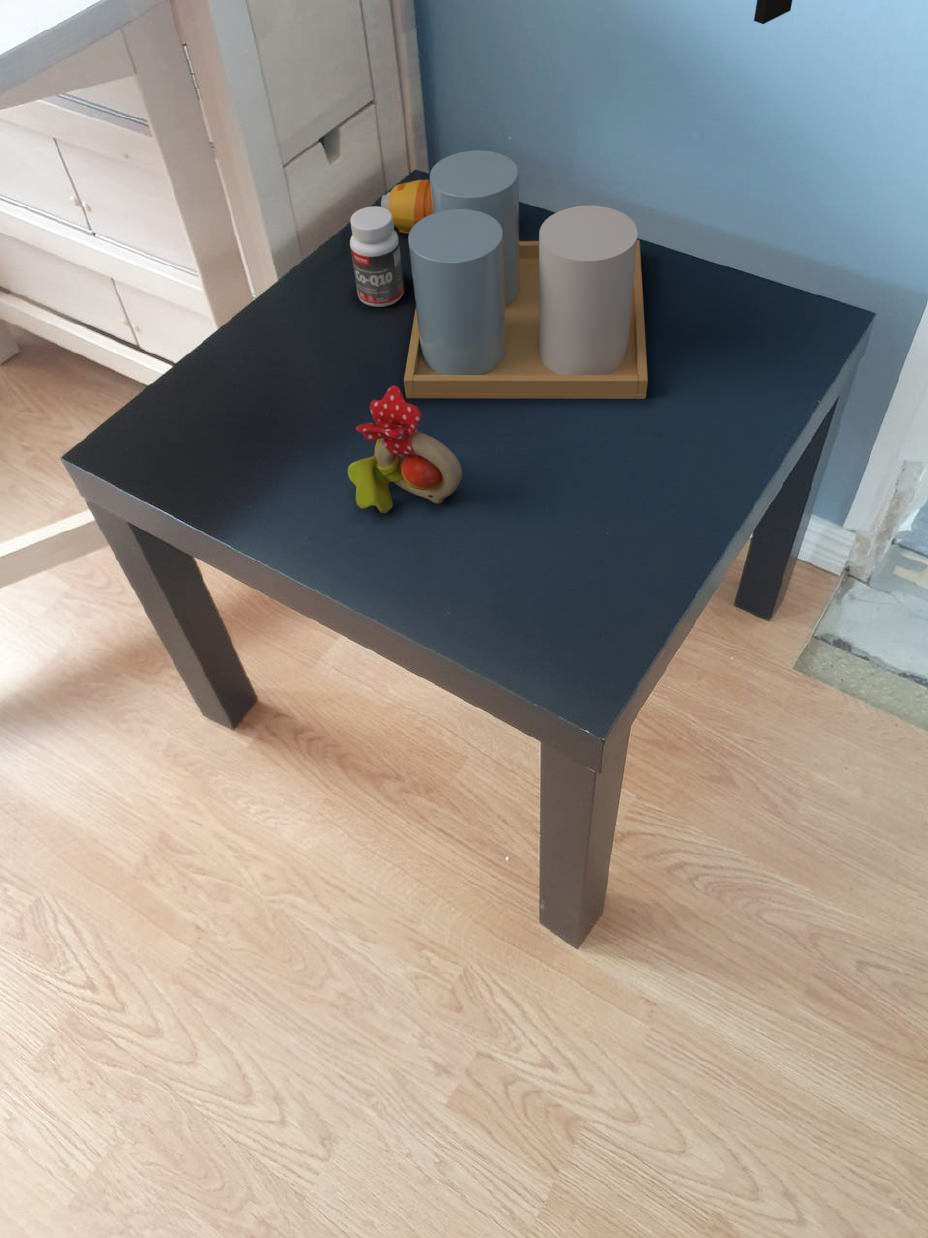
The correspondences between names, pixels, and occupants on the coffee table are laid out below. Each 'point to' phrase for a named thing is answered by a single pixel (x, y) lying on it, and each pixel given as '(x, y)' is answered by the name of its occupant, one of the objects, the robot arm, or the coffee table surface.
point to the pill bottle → (376, 257)
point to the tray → (535, 355)
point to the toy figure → (408, 203)
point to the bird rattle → (423, 462)
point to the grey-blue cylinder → (483, 199)
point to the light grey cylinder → (585, 289)
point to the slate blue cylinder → (459, 291)
